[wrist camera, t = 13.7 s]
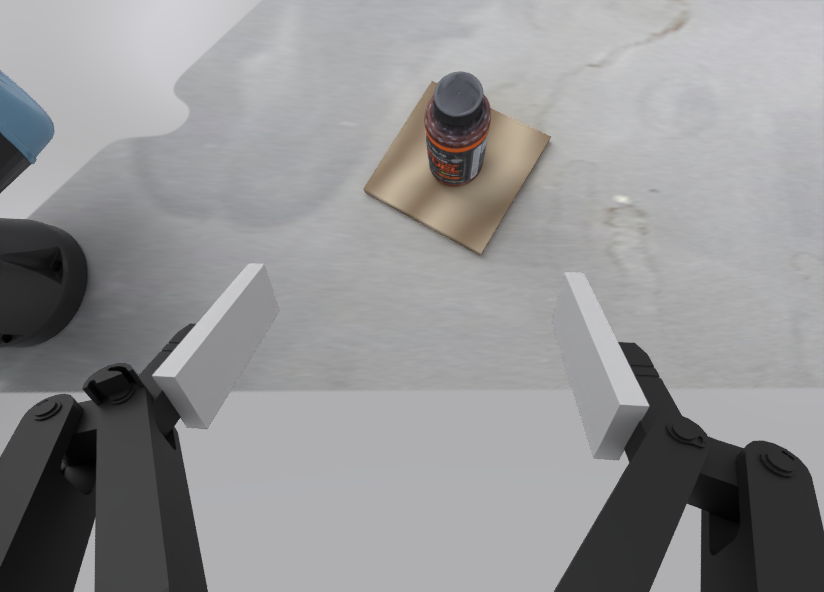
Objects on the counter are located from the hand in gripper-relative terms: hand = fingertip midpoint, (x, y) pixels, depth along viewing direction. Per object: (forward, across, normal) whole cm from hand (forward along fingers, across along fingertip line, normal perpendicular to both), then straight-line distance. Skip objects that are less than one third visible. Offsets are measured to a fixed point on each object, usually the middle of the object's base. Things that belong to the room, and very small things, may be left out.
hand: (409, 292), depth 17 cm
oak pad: (+29, +2, -4) cm, 29 cm away
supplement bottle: (+28, +2, -3) cm, 29 cm away
